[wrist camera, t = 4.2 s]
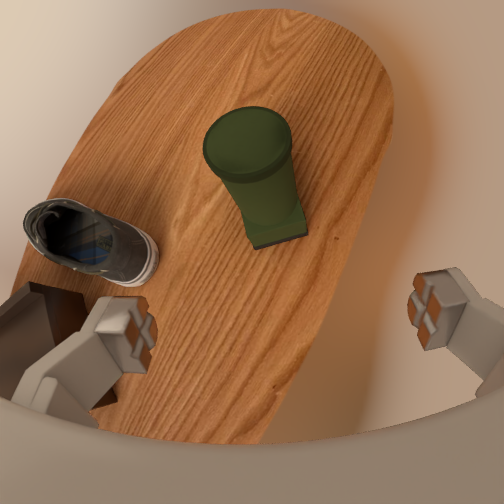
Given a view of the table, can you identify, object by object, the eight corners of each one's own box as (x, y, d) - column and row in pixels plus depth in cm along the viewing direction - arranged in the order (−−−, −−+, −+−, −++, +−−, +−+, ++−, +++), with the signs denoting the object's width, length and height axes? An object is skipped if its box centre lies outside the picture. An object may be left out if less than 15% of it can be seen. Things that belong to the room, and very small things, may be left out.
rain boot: (309, 235, 28) (305, 166, 16) (254, 250, 29) (210, 194, 17) (278, 144, 31) (257, 56, 19) (231, 158, 32) (189, 77, 20)
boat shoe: (31, 244, 36) (-8, 228, 28) (53, 193, 38) (16, 171, 30) (143, 315, 30) (92, 309, 22) (173, 239, 31) (131, 211, 23)
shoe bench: (117, 401, 28) (63, 416, 19) (30, 425, 29) (-11, 432, 21) (82, 293, 32) (28, 281, 23) (6, 344, 33) (-35, 340, 25)
